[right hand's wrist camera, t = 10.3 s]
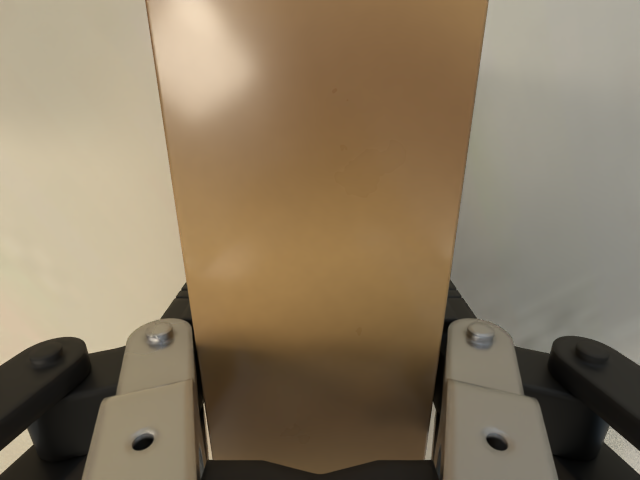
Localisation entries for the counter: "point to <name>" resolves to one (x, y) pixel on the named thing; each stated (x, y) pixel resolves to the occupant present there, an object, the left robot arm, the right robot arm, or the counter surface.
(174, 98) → the post
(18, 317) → the counter surface
